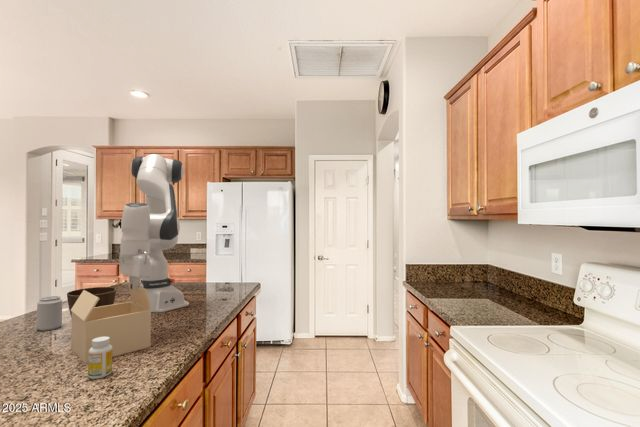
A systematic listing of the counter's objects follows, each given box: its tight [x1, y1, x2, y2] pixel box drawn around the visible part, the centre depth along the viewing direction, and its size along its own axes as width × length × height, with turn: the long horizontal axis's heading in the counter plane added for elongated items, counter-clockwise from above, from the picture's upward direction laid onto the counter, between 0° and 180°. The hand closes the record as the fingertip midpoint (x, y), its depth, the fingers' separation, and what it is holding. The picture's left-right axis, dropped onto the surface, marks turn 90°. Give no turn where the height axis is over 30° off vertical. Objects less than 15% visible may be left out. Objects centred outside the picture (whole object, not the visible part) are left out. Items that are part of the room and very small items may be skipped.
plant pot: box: [66, 286, 117, 319], centre depth 121 cm, size 15×15×16 cm
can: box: [36, 295, 63, 332], centre depth 129 cm, size 8×8×12 cm
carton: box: [70, 300, 152, 365], centre depth 109 cm, size 18×18×12 cm
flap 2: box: [127, 282, 152, 309], centre depth 115 cm, size 7×17×1 cm
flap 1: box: [71, 290, 100, 321], centre depth 104 cm, size 7×17×1 cm
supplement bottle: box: [87, 336, 113, 380], centre depth 89 cm, size 5×5×10 cm
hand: (134, 289), depth 114 cm, fingers closed, pressing on flap 2
